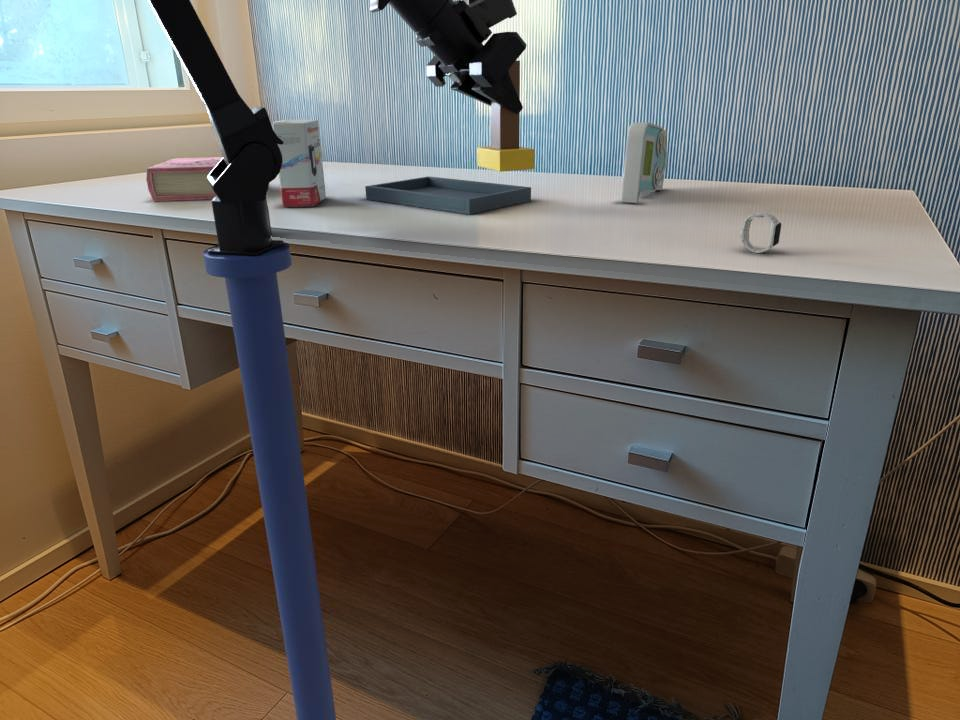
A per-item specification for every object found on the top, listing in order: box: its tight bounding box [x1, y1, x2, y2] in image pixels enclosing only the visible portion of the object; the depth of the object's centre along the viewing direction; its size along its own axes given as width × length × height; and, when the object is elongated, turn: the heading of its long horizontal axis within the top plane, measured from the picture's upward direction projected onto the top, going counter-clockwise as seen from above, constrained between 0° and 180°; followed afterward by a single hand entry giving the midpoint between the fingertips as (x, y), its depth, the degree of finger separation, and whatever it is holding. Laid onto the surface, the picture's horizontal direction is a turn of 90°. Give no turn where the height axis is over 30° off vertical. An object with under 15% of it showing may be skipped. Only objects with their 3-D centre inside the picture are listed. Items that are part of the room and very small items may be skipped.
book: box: [145, 156, 223, 202], centre depth 114 cm, size 14×15×5 cm
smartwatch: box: [739, 211, 782, 254], centre depth 70 cm, size 4×2×4 cm, turn 52°
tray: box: [364, 175, 532, 215], centre depth 103 cm, size 22×14×2 cm, turn 49°
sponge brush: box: [476, 60, 536, 173], centre depth 88 cm, size 5×7×13 cm
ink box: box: [271, 119, 327, 208], centre depth 102 cm, size 9×5×12 cm, turn 179°
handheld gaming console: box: [620, 121, 669, 205], centre depth 103 cm, size 11×3×15 cm
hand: (514, 110), depth 89 cm, fingers closed on sponge brush, 3 cm apart
